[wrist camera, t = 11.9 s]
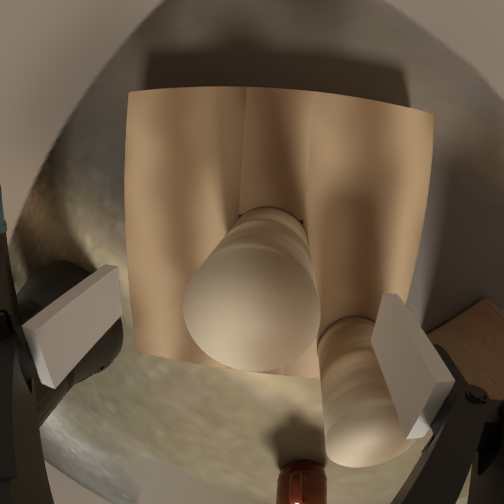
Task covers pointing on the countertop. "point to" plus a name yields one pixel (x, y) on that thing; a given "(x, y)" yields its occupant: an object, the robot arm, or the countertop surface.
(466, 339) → the block
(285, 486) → the mug
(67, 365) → the robot arm
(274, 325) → the peg
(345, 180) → the seat board
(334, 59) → the countertop surface
